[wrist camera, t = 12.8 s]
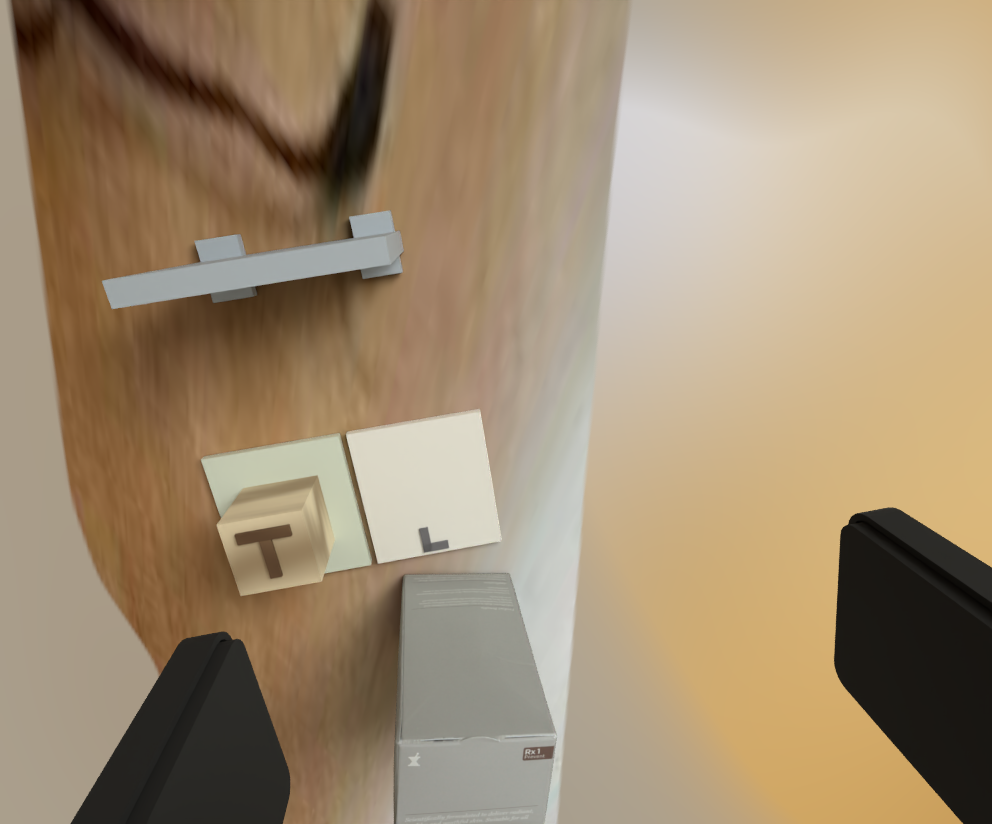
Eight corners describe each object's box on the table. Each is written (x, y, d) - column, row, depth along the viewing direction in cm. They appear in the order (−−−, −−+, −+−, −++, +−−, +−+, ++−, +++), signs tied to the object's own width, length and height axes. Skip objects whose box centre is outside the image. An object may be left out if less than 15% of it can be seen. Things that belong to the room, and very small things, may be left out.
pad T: (204, 456, 39) (200, 460, 38) (339, 433, 39) (337, 436, 38) (247, 583, 42) (244, 589, 41) (372, 560, 42) (370, 566, 42)
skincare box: (400, 642, 45) (382, 853, 30) (403, 560, 43) (386, 745, 28) (509, 642, 46) (544, 847, 31) (518, 563, 44) (560, 742, 29)
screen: (194, 241, 35) (91, 251, 24) (395, 210, 35) (379, 206, 25) (213, 302, 36) (121, 336, 25) (407, 270, 36) (396, 291, 26)
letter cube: (242, 488, 39) (215, 527, 34) (317, 475, 39) (300, 512, 34) (264, 555, 41) (240, 601, 36) (335, 542, 41) (322, 586, 36)
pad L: (347, 431, 39) (345, 435, 39) (479, 408, 40) (480, 412, 39) (378, 559, 42) (377, 564, 42) (501, 536, 43) (502, 542, 42)
